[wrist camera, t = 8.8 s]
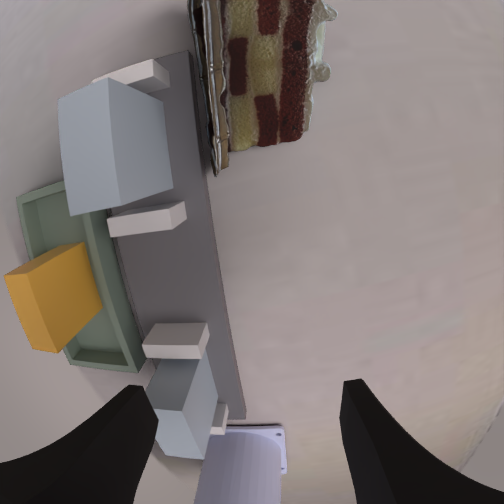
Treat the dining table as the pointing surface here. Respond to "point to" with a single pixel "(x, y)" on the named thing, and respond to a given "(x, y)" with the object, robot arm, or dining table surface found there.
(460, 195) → the dining table surface
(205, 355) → the block
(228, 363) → the block
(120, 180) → the block
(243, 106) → the chocolate cake
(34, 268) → the block
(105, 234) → the tray
